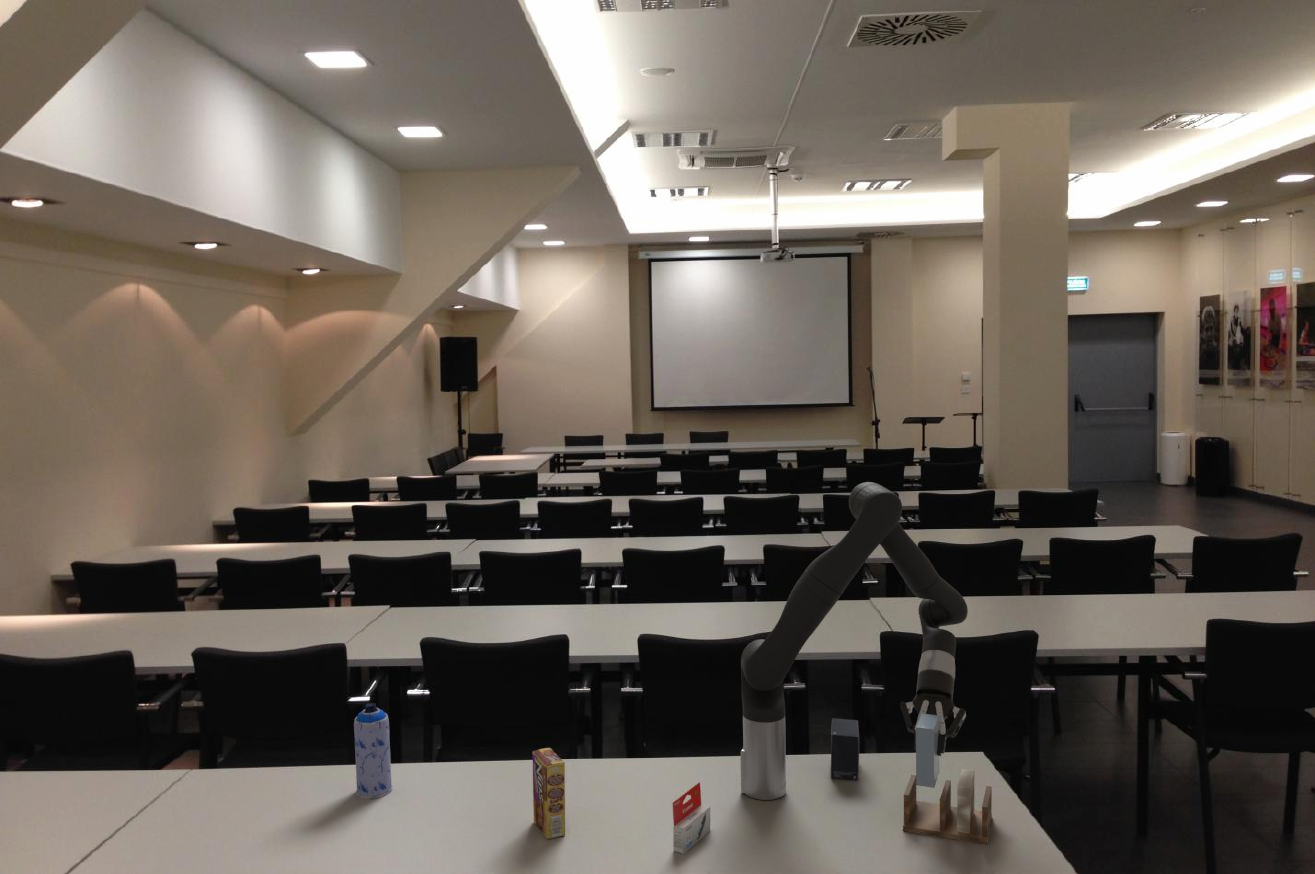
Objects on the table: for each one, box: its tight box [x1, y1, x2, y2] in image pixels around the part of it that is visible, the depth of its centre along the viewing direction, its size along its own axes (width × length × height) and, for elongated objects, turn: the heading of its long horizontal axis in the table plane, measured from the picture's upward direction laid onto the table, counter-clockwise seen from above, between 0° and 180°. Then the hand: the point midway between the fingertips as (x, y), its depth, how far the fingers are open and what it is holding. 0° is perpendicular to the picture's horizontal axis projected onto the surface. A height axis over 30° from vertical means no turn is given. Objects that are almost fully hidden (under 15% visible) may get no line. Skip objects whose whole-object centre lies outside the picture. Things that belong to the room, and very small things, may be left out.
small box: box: [830, 717, 860, 781], centre depth 220 cm, size 11×6×10 cm, turn 169°
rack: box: [902, 768, 993, 846], centre depth 193 cm, size 16×12×10 cm
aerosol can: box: [353, 702, 393, 800], centre depth 214 cm, size 8×8×20 cm
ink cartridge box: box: [671, 781, 711, 854], centre depth 189 cm, size 2×11×10 cm, turn 148°
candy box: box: [532, 747, 566, 840], centre depth 195 cm, size 9×4×15 cm, turn 26°
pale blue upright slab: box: [915, 713, 941, 788], centre depth 194 cm, size 4×8×12 cm, turn 156°
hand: (928, 752), depth 195 cm, fingers closed on pale blue upright slab, 3 cm apart
